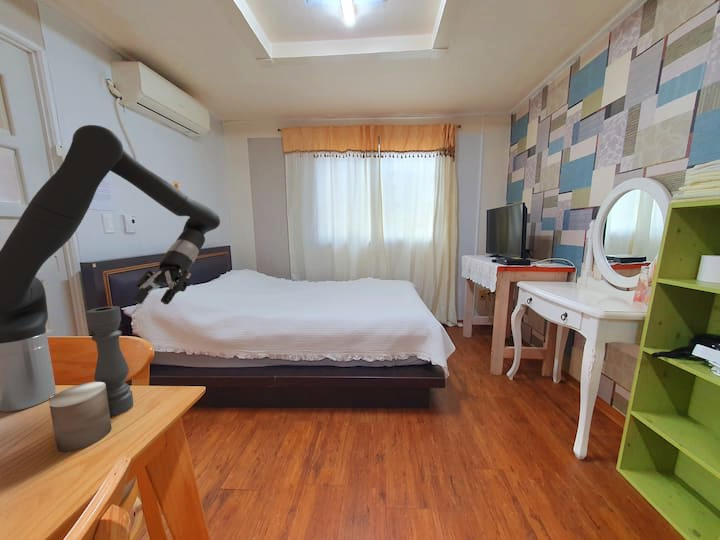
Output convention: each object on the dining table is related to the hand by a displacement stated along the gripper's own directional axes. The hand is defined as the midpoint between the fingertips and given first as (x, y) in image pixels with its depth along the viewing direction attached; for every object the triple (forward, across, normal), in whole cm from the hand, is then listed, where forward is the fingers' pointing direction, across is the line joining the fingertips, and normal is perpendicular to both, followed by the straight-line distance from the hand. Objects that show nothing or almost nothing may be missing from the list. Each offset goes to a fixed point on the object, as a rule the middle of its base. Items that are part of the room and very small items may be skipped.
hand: (150, 302), depth 74 cm
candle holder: (+25, 0, +9) cm, 27 cm away
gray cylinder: (+31, +3, +2) cm, 31 cm away
